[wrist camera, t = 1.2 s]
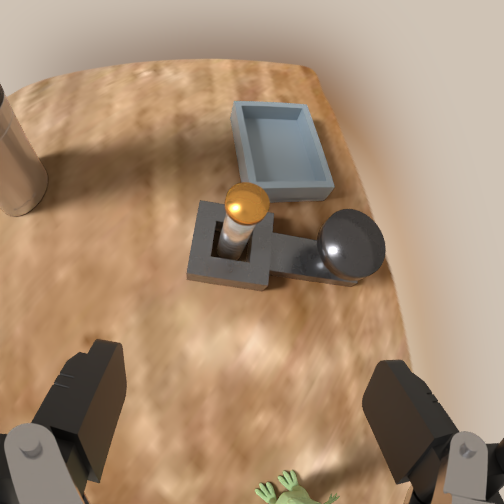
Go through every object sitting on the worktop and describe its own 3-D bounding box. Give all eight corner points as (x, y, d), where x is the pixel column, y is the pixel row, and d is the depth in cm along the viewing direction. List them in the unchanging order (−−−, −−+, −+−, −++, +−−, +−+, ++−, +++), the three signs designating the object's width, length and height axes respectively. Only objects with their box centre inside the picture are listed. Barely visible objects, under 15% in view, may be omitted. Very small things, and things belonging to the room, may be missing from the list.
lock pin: (207, 246, 40) (216, 195, 28) (232, 229, 41) (251, 175, 29) (226, 271, 39) (244, 229, 27) (251, 253, 41) (278, 206, 29)
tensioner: (186, 279, 38) (186, 256, 29) (198, 211, 41) (202, 173, 33) (350, 302, 41) (387, 286, 33) (350, 238, 44) (382, 211, 36)
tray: (230, 118, 48) (234, 101, 44) (299, 120, 50) (306, 104, 47) (244, 203, 43) (250, 188, 39) (323, 200, 46) (334, 187, 42)
